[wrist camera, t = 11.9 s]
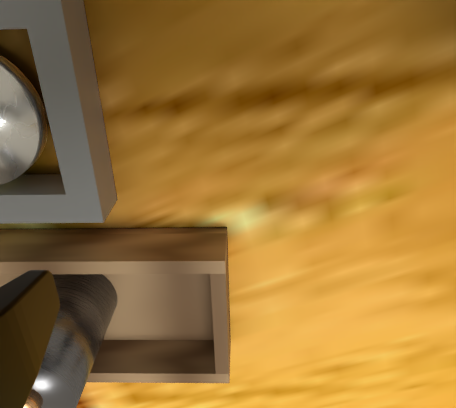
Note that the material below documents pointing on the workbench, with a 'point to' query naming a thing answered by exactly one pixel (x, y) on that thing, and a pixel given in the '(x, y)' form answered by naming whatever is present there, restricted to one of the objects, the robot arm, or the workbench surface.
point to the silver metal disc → (19, 122)
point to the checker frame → (62, 119)
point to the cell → (73, 339)
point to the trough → (143, 296)
